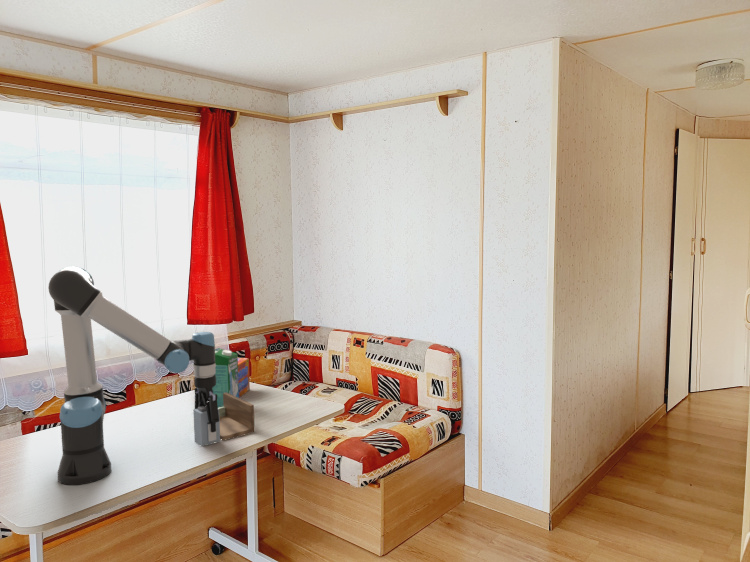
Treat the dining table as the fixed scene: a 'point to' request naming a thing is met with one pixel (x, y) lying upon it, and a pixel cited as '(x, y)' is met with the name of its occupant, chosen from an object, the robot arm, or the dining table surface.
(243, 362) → the game box
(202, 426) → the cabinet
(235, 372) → the milk carton
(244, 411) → the brown wooden l-shaped piece
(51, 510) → the dining table surface
